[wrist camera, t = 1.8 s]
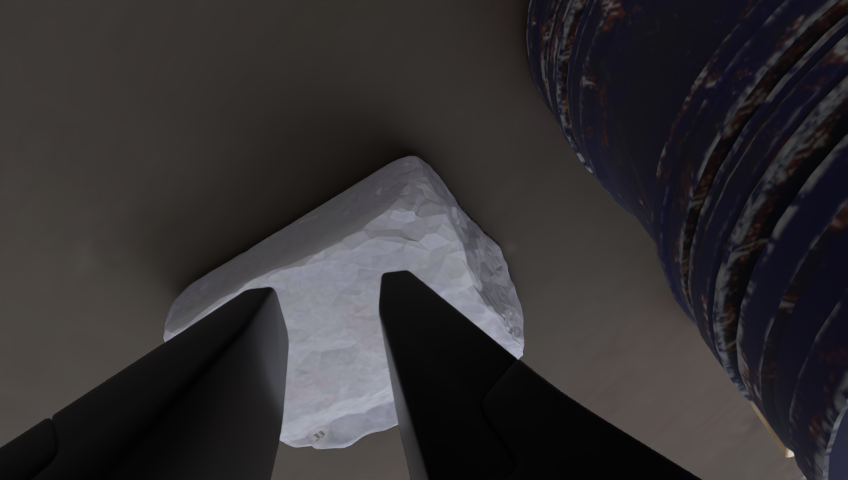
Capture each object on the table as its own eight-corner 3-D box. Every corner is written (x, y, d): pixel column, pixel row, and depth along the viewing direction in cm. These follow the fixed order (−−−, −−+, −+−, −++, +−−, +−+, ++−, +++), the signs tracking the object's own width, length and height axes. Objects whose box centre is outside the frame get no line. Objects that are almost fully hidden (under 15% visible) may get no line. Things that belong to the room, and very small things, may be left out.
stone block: (529, 275, 28) (410, 120, 21) (563, 365, 24) (433, 213, 18) (314, 384, 31) (153, 277, 24) (317, 477, 27) (130, 383, 21)
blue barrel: (855, 49, 21) (1532, 380, 9) (598, 200, 24) (877, 620, 12) (786, -262, 16) (2161, -423, 4) (463, -27, 18) (720, 316, 6)
